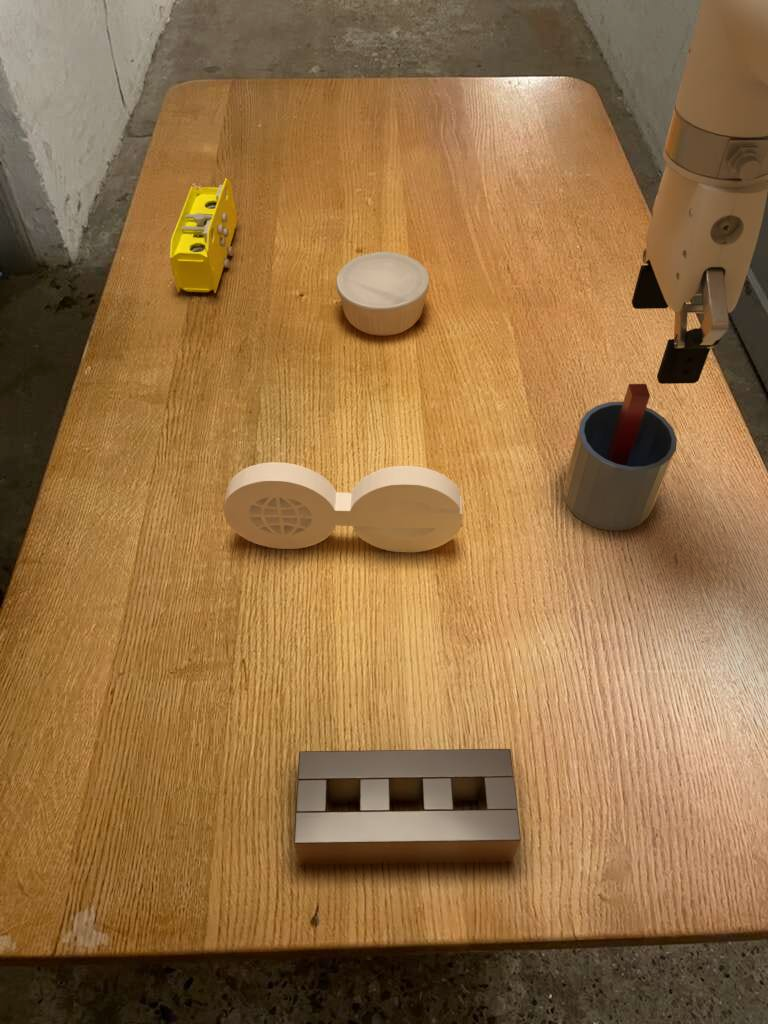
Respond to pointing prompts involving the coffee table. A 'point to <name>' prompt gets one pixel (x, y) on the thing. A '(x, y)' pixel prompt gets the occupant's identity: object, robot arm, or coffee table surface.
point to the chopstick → (628, 423)
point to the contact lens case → (343, 507)
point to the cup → (617, 469)
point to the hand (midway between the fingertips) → (662, 342)
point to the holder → (406, 832)
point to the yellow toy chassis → (203, 238)
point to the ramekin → (382, 292)
